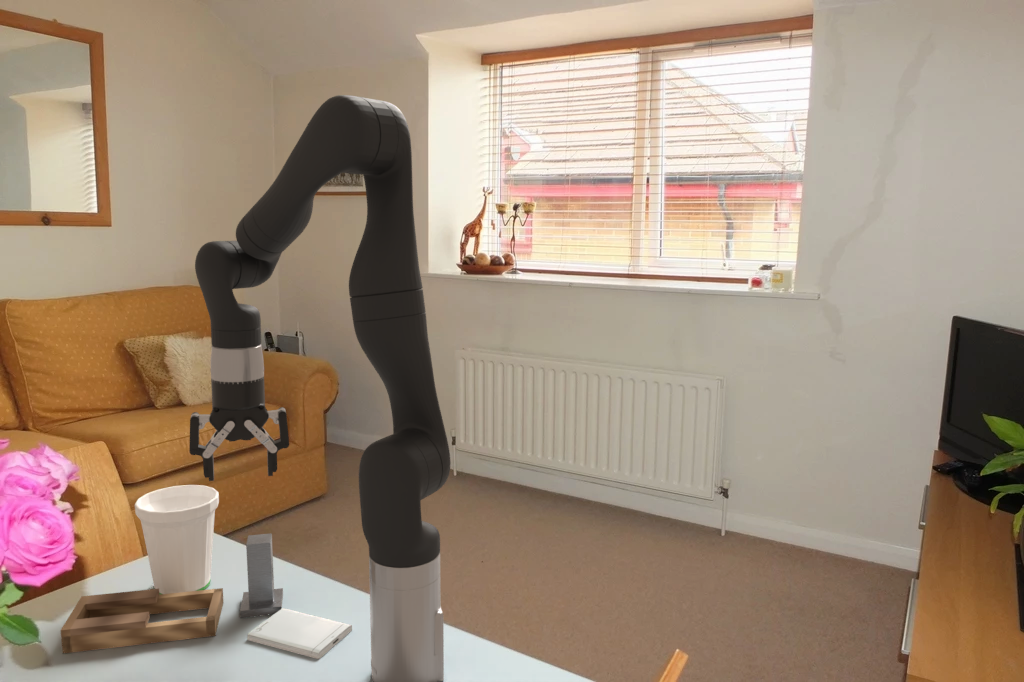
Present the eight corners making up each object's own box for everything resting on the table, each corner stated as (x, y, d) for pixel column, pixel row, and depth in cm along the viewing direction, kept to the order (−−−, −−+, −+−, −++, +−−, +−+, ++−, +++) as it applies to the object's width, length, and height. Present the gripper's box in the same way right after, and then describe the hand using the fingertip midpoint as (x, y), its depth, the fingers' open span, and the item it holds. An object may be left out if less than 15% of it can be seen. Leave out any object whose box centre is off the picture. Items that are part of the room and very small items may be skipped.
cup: (127, 588, 124) (120, 499, 122) (199, 562, 134) (195, 479, 131) (163, 613, 116) (157, 519, 114) (238, 584, 126) (233, 496, 123)
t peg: (283, 595, 123) (280, 529, 121) (281, 613, 117) (278, 545, 115) (243, 599, 121) (240, 532, 119) (240, 618, 115) (236, 549, 114)
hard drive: (246, 633, 109) (318, 651, 105) (283, 606, 117) (352, 622, 112) (247, 643, 110) (318, 662, 105) (284, 616, 117) (352, 633, 113)
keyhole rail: (223, 602, 120) (222, 582, 119) (215, 635, 110) (214, 613, 110) (83, 617, 115) (81, 596, 114) (62, 653, 106) (60, 630, 105)
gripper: (184, 382, 108) (189, 490, 111) (288, 377, 113) (291, 481, 116) (187, 371, 115) (192, 472, 118) (285, 367, 120) (288, 465, 123)
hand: (241, 476), depth 117 cm, fingers open, 8 cm apart
